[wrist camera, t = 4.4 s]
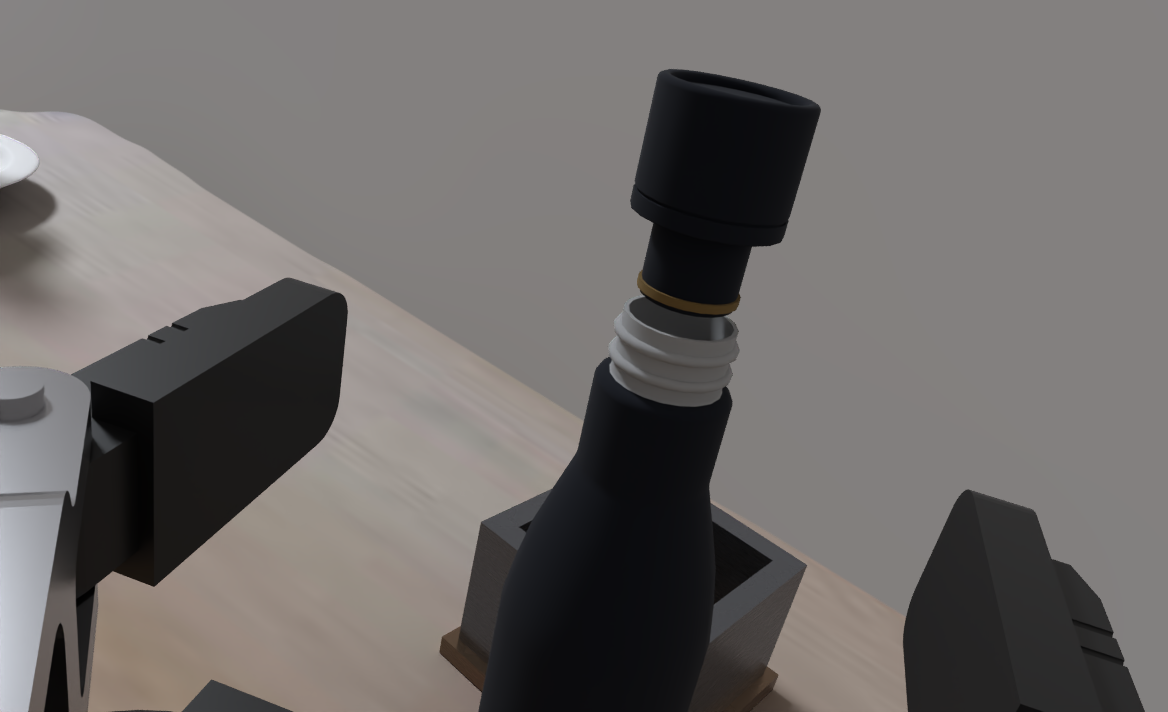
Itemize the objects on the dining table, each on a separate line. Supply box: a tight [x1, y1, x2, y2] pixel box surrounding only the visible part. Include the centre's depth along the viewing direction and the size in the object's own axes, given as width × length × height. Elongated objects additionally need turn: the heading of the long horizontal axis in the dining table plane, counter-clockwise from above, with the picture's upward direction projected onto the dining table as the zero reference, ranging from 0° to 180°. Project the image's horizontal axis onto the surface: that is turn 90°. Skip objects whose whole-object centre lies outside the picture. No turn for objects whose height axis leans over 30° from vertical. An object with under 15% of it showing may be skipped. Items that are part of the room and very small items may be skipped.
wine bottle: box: [479, 69, 821, 712], centre depth 27 cm, size 6×6×30 cm
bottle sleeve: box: [440, 489, 807, 712], centre depth 43 cm, size 12×12×8 cm
